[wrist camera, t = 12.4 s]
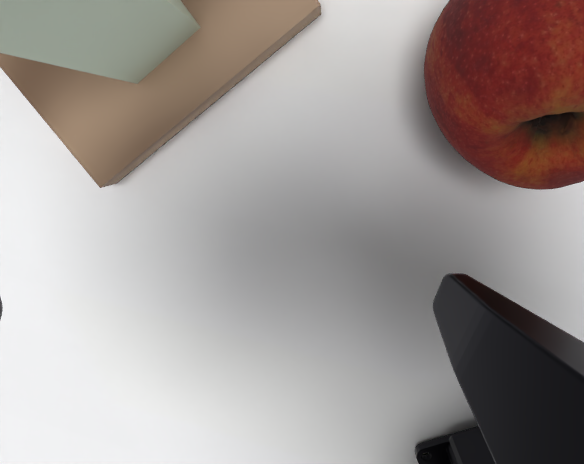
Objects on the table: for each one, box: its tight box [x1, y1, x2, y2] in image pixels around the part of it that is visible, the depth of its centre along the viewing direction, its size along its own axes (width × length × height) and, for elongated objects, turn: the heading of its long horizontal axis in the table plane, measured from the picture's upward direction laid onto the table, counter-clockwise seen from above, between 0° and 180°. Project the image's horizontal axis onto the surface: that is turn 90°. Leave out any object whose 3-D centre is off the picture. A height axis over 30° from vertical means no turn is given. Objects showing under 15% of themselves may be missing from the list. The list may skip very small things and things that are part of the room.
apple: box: [424, 0, 584, 189], centre depth 14 cm, size 7×8×8 cm
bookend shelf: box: [0, 0, 321, 188], centre depth 16 cm, size 9×12×5 cm
